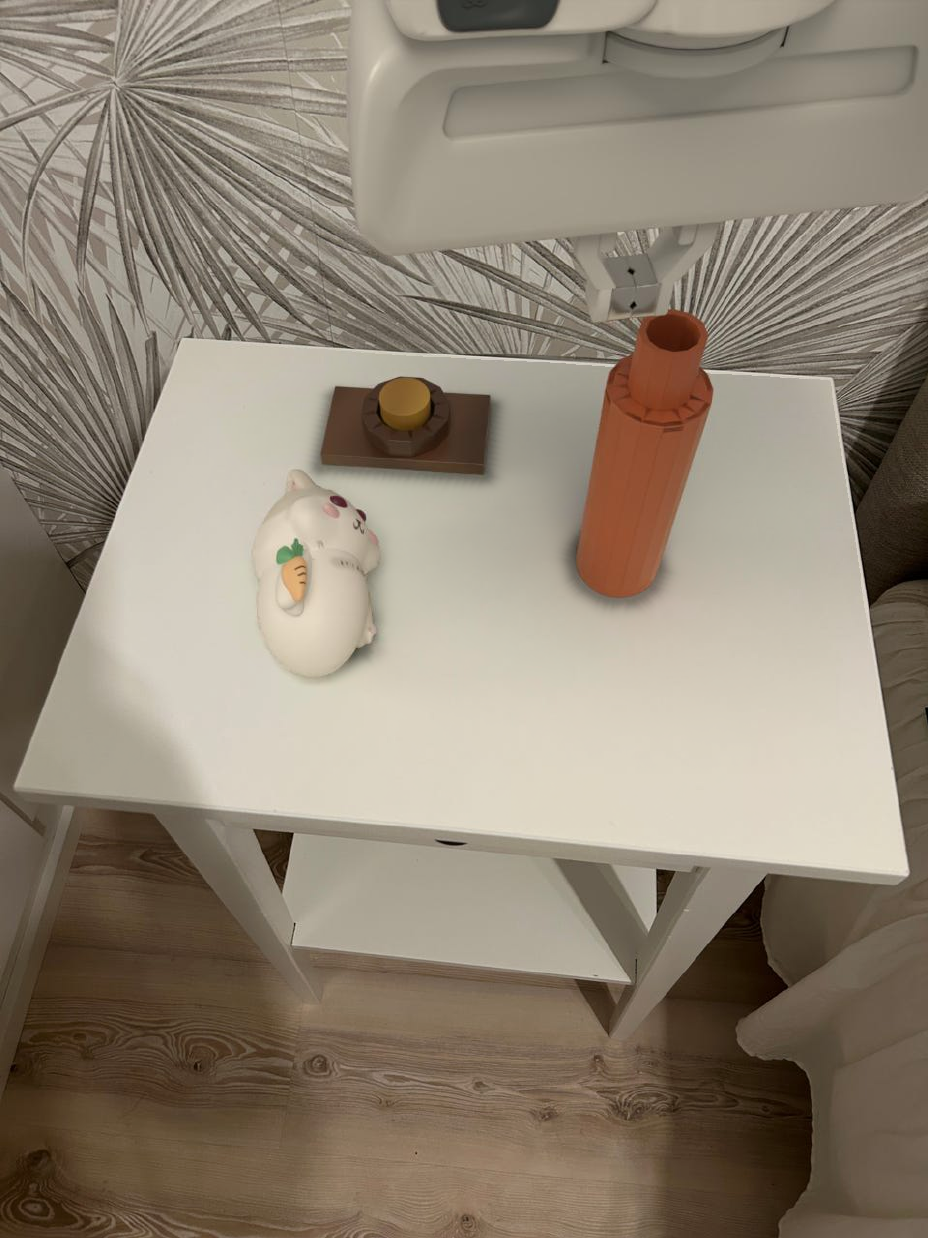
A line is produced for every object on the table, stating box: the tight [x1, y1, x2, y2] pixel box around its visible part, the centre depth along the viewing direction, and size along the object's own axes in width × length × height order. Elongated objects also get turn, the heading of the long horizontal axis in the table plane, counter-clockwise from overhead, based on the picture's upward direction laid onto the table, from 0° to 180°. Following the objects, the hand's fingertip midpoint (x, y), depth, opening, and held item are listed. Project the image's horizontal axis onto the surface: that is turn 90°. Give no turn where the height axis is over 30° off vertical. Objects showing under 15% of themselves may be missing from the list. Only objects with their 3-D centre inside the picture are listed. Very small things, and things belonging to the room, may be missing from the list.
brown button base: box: [319, 376, 492, 475], centre depth 72 cm, size 13×8×3 cm, turn 85°
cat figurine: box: [251, 468, 382, 678], centre depth 61 cm, size 10×8×15 cm
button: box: [379, 378, 431, 431], centre depth 70 cm, size 4×4×2 cm
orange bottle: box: [575, 308, 715, 598], centre depth 57 cm, size 6×6×22 cm
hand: (624, 308), depth 35 cm, fingers closed
